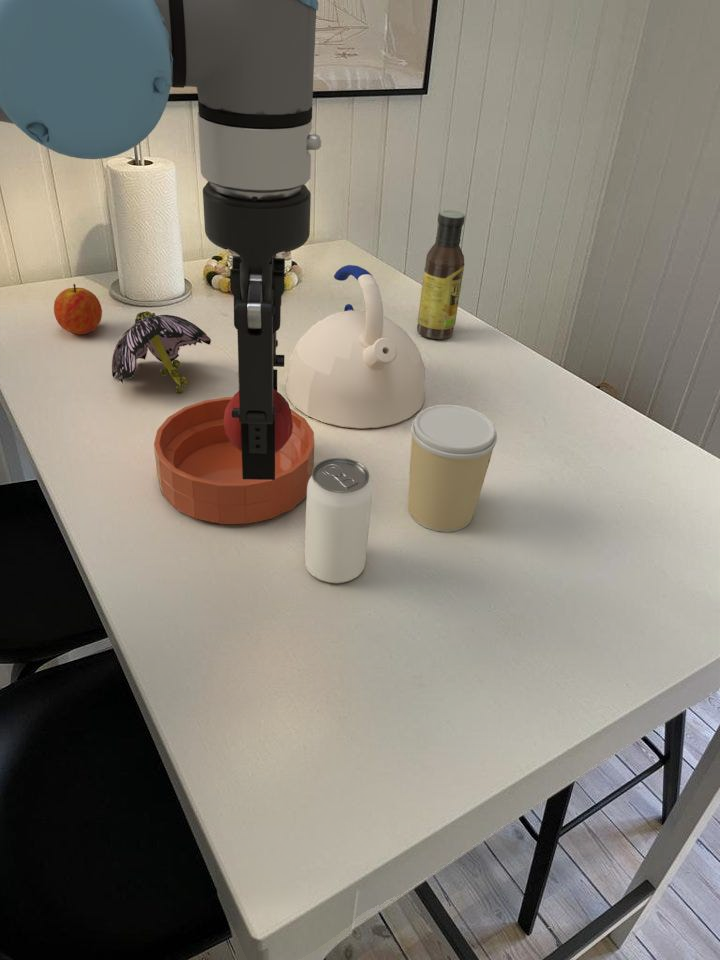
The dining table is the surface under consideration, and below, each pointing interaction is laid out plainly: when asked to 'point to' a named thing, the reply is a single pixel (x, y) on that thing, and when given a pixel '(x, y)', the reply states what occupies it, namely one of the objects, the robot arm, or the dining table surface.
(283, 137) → the robot arm
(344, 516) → the can
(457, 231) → the sauce bottle
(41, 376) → the dining table surface
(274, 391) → the onion
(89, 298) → the fruit
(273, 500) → the bowl
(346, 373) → the kettle
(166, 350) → the purple butterfly
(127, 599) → the dining table surface
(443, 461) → the coffee cup
